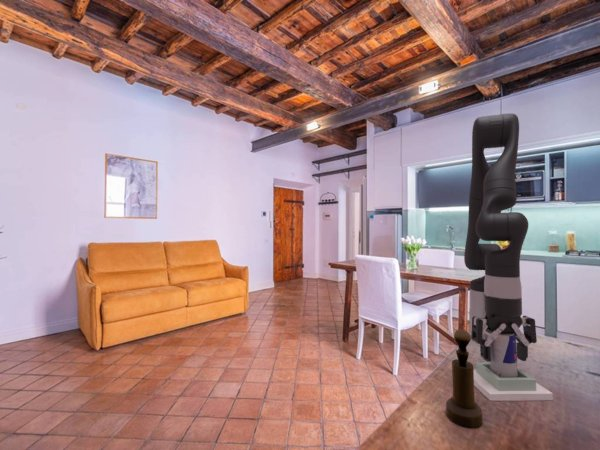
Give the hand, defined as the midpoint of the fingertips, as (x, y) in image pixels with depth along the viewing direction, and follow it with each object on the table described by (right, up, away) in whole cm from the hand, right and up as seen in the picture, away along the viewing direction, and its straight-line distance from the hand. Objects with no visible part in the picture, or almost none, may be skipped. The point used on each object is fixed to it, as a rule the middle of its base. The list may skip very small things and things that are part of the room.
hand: (503, 359), depth 70 cm
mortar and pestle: (-16, -7, -11) cm, 21 cm away
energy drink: (0, -5, 0) cm, 5 cm away
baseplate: (0, -7, 0) cm, 7 cm away
